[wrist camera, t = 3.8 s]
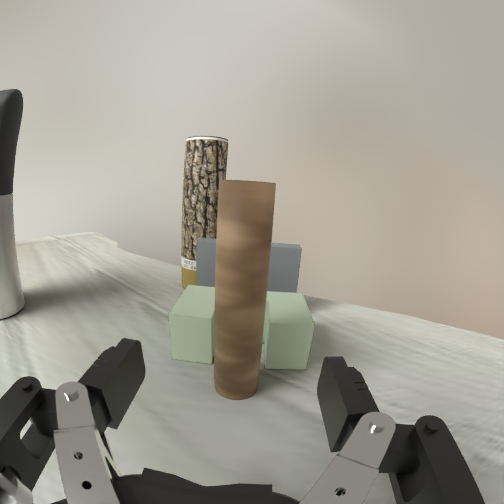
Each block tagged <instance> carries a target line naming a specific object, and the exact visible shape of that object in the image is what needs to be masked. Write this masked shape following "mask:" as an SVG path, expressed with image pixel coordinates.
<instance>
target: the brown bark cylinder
mask: <svg viewBox="0 0 504 504" xmlns="http://www.w3.org/2000/svg"><path fill="white" fill-rule="evenodd" d="M227 152H228V140H227V139H225V138H221V137H213V136H193V137H188V138H187V141H186V151H185V164H184V180H183V202H182V203H183V204H182V246H181V247H182V248H181V249H182V252H181V254H182V255H181V263H182V264H181V265H182V286H183V288H184V289H186V287H187V286H188V285H196V246H197V241H198V240H199V239H200V238H210V239H216V235H217V213H218V194H219V180H226V167H227Z"/></svg>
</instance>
